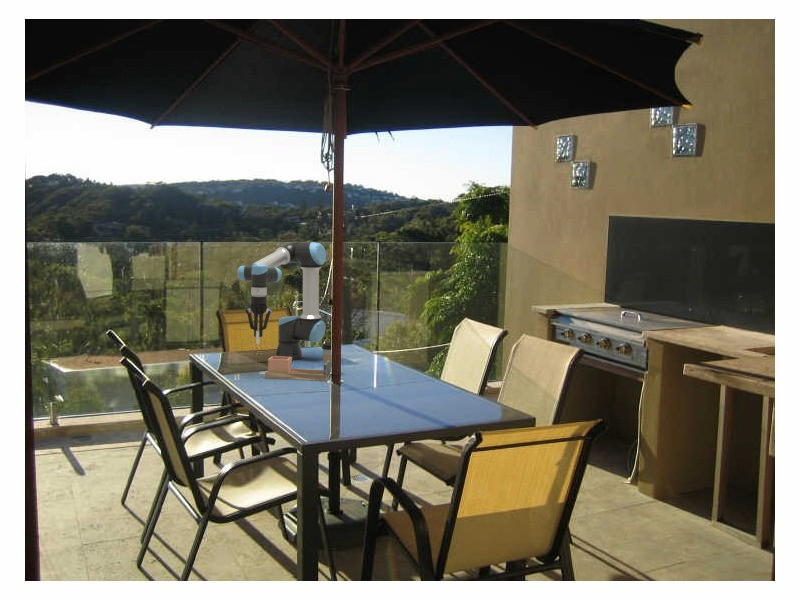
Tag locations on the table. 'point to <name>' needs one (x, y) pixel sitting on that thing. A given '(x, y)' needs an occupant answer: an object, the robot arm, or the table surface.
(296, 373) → the bay
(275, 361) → the box
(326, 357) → the coffee cup
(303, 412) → the table surface
